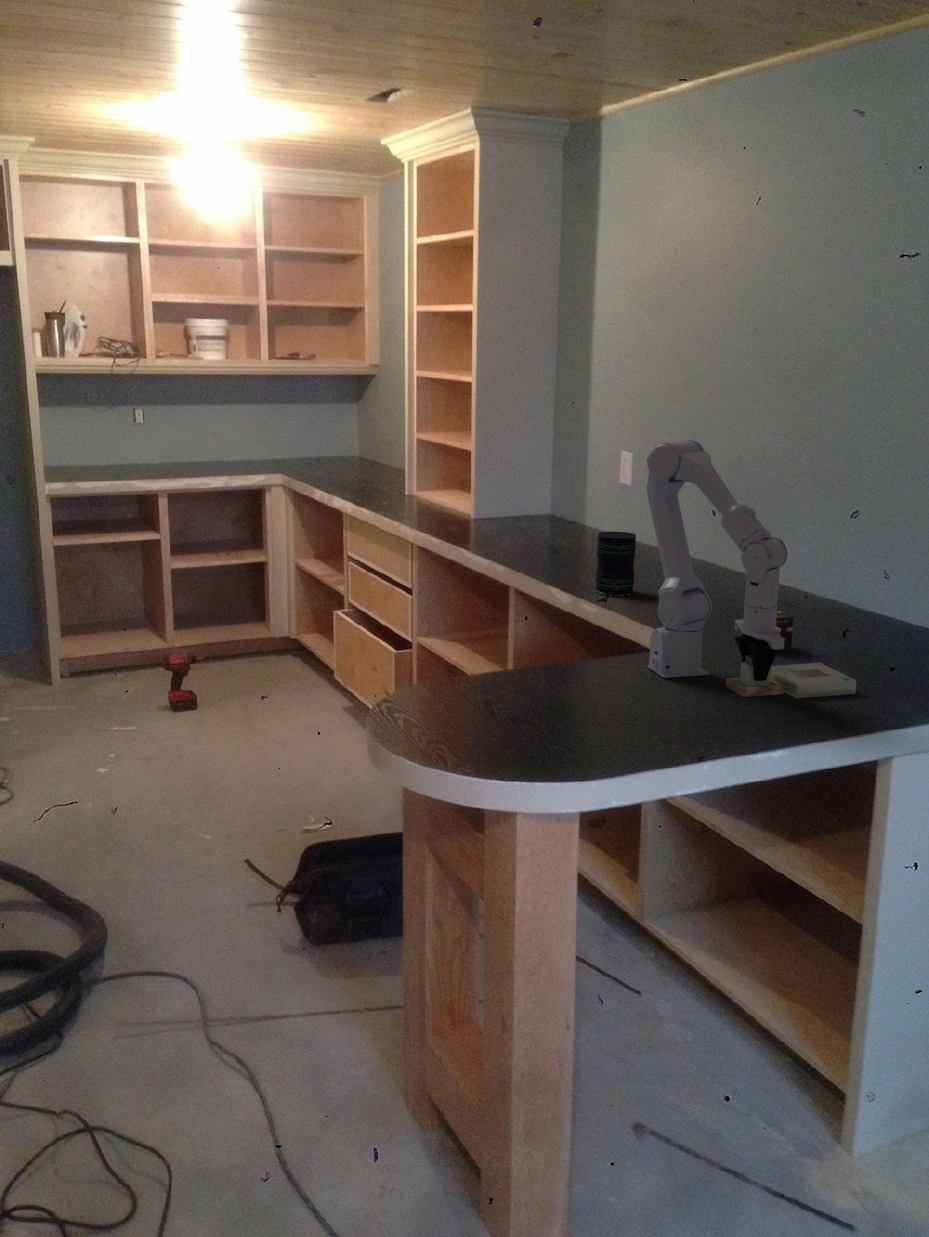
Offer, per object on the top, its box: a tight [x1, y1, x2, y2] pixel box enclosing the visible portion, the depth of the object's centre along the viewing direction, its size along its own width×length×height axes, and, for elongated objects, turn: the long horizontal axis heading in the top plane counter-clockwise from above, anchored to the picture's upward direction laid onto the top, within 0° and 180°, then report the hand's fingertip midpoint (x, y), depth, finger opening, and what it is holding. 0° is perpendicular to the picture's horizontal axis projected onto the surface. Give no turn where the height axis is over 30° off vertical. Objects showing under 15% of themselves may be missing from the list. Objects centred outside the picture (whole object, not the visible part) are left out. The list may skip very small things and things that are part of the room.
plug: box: [739, 655, 771, 687], centre depth 202 cm, size 4×3×6 cm, turn 104°
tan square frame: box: [725, 677, 785, 698], centre depth 202 cm, size 8×7×2 cm
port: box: [771, 662, 857, 699], centre depth 205 cm, size 12×12×3 cm
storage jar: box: [595, 531, 637, 595], centre depth 281 cm, size 10×10×15 cm
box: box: [776, 610, 794, 652], centre depth 231 cm, size 6×6×7 cm
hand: (755, 677), depth 202 cm, fingers closed on plug, 3 cm apart
